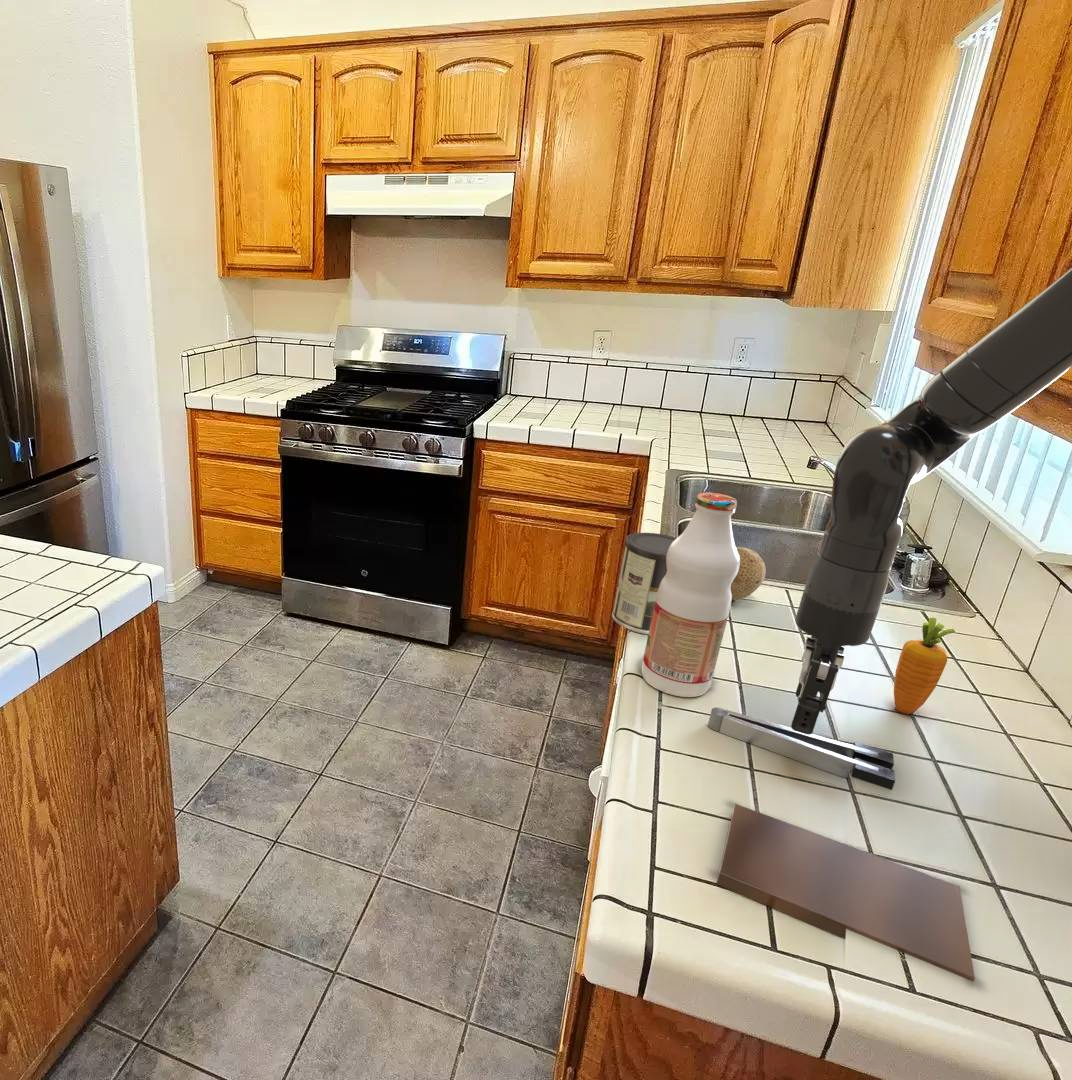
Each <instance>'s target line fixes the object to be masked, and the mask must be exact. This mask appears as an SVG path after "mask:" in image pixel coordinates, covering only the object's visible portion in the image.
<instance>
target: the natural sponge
mask: <svg viewBox="0 0 1072 1080" xmlns="http://www.w3.org/2000/svg"><path fill="white" fill-rule="evenodd" d="M736 549H737V551H738V553H739V556H740V566H739V571H738V573H737V575H736V577H735V579H734V580H733V582H732V583H731V587H730V589H731V593H732V601H740V600H743V599H746V598H747V597H749V596H751V595H752V594H754V592H756V590H758V589H759V588H760V587H761V585H762V584H763V582H764V580H765V578H766V571H767V569H766V563H765V562H764V560H763V558H762V557H761V556H760V555H759V554H758V553H757V552H756V551H755V550H753V549H750V548H747V547H740V546H738V547H737V546H736Z"/></svg>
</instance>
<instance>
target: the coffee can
mask: <svg viewBox="0 0 1072 1080" xmlns="http://www.w3.org/2000/svg"><path fill="white" fill-rule="evenodd" d="M676 538H677V537H674V536H671V535H667V534H662V533H656V532H636V533H631V534H628V535H627V536H626V537H625V541H624V543H625V547H624V552H623V556H622V563H621V568H620V573H619V578H618V583H617V589H616V594H615V599H614V605H613V608H612V609H613V610H612V613H611V617H612V619H613V621H614V622H615V623H616V624H617V625H619V626H621V627H623V628H624V629H626V630H629V631H632V632H634V633H638V634H643V635H648V634H649V630H650V625H651V620H652V616H653V611H654V606H655V602H656V596H657V592H658V589H659V586H660V583H661V581H662V579H663V578H664V576H665V575H666V573H667V564H666V555H667V552H668V549H669V546H670V545H671V543H672V542H673V541H674V540H675V539H676Z"/></svg>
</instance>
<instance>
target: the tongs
mask: <svg viewBox="0 0 1072 1080" xmlns="http://www.w3.org/2000/svg"><path fill="white" fill-rule="evenodd" d="M707 726H708V728H709V729H711V730H713V731H714V732H719V733H721V734H723V735H726V736H729V737H731V738H734V739H737V740H739V741H742V742H745V743H748V744H750V745H753V746H756V747H759V748H761V749H765V750H767V751H769V752H771V753H772V752H773V753H775V754H778V755H781V756H784V757H786V758H789V759H792V760H793V761H794V760H795V761H797V762H800V763H803V764H805V765H808V766H810V767H814V768H815V769H816V768H817V769H819V770H822V771H824V772H827V773H830V774H833V775H835V776H838V777H841V778H843V779H847V780H849V772H850V773H851V777H852V778H854V779H857V780H859V781H860V780H861V781H863V782H866V783H868V784H869V783H870V784H873V785H875V786H879V787H882V788H884V789H888V790H891V791H892V790H893V788H894V786H895V782H896V775H895V770H894V769H893V767H894V764H895V761H894V760H895V759H894V753H893V752H889V751H887V750H884V749H880V748H877V747H873V746H870V745H867V744H864V743H861V742H857V741H854V742H853V744H850V743H846V742H843V741H839V740H835V739H832V738H828V737H825V736H821V735H818V734H814V733H812V734H810V735H807V734H804V733H801V732H798V731H795V730H793V729H792V728H791V726H790V727H789V726H786V725H782V724H779V723H775V722H772V721H768V720H765V719H761V718H757V717H755V716H750V715H747V714H743V713H740V712H737V711H732V710H729V709H726V708H725V709H724V708H721V707H712V708H711V711H710V714H709V719H708V722H707Z"/></svg>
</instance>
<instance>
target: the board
mask: <svg viewBox="0 0 1072 1080" xmlns="http://www.w3.org/2000/svg"><path fill="white" fill-rule="evenodd" d="M733 806H734V807H733V810H732V813H731V818H730V822H729V827H728V832H727V835H726V839H725V844H724V848H723V852H722V857H721V862H720V866H719V870H718V875H717V879H716V883H715V884H716V885H717V886H719V887H722V888H724V889H725V890H728V891H731V892H734V893H735V894H738V895H740V896H743V897H745V898H748V899H750V900H752V901H755V902H757V903H760V904H761V905H765V906H766V907H769V908H771V909H774V910H777V911H778V912H781V913H783V914H786V915H788V916H790V917H793V918H795V919H798V920H800V921H803V922H804V923H807V924H809V925H812V926H814V927H816V928H819V929H821V930H823V931H826V932H829V933H831V934H832V935H833V934H834V935H835V936H838V937H840V938H843V939H845V940H846V938H847V936H846V935H847V930H848V931H851V932H853V933H856V934H858V935H860V936H862V937H865V938H867V939H870V940H872V941H874V942H876V943H879V944H882V945H884V946H887V947H890V948H891V949H894V950H897V951H899V952H901V953H903V954H906V955H908V956H911V957H913V958H916V959H918V960H920V961H923V962H926V963H928V964H929V965H933V966H935V967H937V968H940V969H941V970H945V971H947V972H949V973H952V974H953V975H954V974H955V975H957V976H959V977H961V978H963V979H966V980H968V981H971V982H974V981H975V978H976V977H975V971H974V965H973V959H972V953H971V947H970V941H969V934H968V929H967V923H966V917H965V912H964V911H965V910H964V904H963V899H962V892H961V887H960V885H957V884H955V883H952V882H950V881H947V880H944V879H941V878H938V877H936V876H934V875H930V874H928V873H925V872H922V871H919V870H917V869H914V868H911V867H909V866H906V865H903V864H901V863H898V862H895V861H893V860H889V859H888V858H885V857H882V856H878V855H876V854H873V853H871V852H868V851H865V850H862V849H860V848H857V847H854V846H851V845H849V844H846V843H844V842H841V841H839V840H836V839H833V838H830V837H828V836H824V835H822V834H819V833H817V832H814V831H811V830H808V829H806V828H802V827H800V826H798V825H795V824H792V823H790V822H786V821H784V820H781V819H779V818H776V817H773V816H770V815H768V814H764V813H763V812H760V811H757V810H754V809H751V808H749V807H746V806H743V805H740V804H737V803H735V804H734V805H733Z"/></svg>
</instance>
